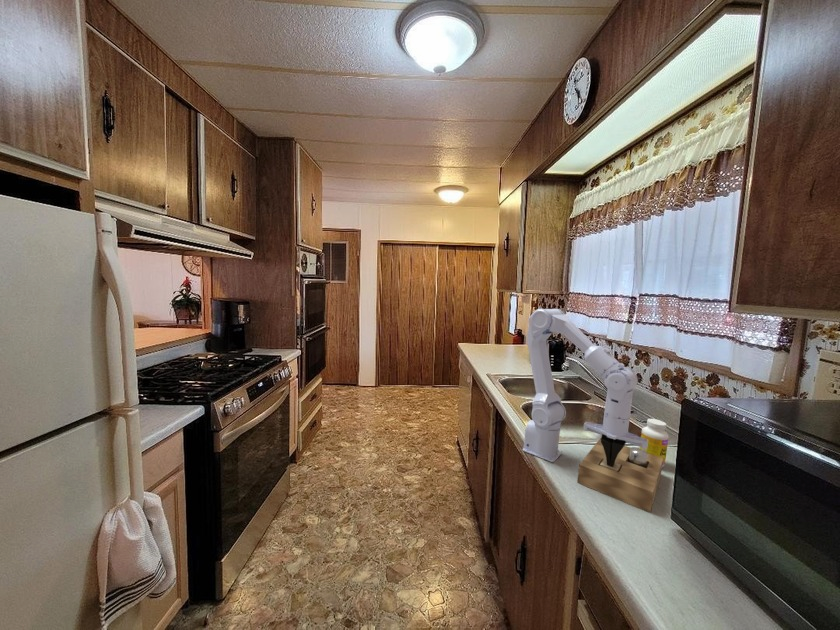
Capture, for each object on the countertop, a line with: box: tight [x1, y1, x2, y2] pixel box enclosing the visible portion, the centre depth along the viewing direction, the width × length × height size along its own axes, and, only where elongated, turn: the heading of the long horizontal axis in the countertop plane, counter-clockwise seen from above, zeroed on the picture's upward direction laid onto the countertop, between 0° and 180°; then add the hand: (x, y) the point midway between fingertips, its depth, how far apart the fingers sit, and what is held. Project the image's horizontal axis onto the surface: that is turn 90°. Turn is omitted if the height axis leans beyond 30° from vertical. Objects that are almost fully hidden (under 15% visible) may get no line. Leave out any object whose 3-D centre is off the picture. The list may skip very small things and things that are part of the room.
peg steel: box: [629, 446, 648, 468], centre depth 92 cm, size 4×4×5 cm
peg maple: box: [600, 459, 621, 472], centre depth 89 cm, size 4×4×5 cm
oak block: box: [576, 437, 663, 513], centre depth 92 cm, size 16×22×5 cm
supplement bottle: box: [638, 418, 670, 468], centre depth 101 cm, size 7×7×13 cm
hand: (610, 464), depth 89 cm, fingers closed, pressing on peg maple
